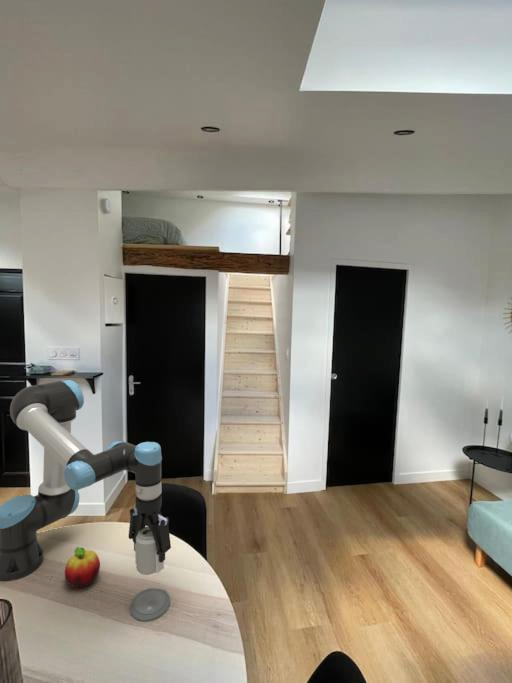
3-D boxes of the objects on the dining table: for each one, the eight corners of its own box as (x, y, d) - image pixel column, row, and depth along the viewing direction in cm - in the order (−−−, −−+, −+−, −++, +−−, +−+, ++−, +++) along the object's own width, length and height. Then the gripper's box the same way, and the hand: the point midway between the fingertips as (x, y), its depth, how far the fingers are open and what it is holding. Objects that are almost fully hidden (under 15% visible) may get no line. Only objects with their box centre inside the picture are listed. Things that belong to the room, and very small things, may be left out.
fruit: (69, 598, 119) (68, 568, 118) (61, 578, 127) (60, 550, 126) (104, 582, 126) (104, 554, 125) (94, 565, 134) (94, 538, 133)
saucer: (121, 611, 114) (121, 608, 114) (149, 585, 125) (149, 582, 125) (151, 627, 109) (151, 624, 109) (177, 599, 119) (177, 596, 119)
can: (152, 556, 121) (151, 521, 119) (166, 567, 116) (166, 530, 115) (131, 569, 115) (130, 532, 114) (146, 580, 110) (145, 542, 109)
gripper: (114, 491, 115) (116, 562, 117) (166, 509, 105) (167, 585, 107) (133, 481, 121) (134, 548, 123) (183, 497, 112) (183, 569, 114)
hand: (149, 565), depth 115 cm, fingers closed on can, 7 cm apart
